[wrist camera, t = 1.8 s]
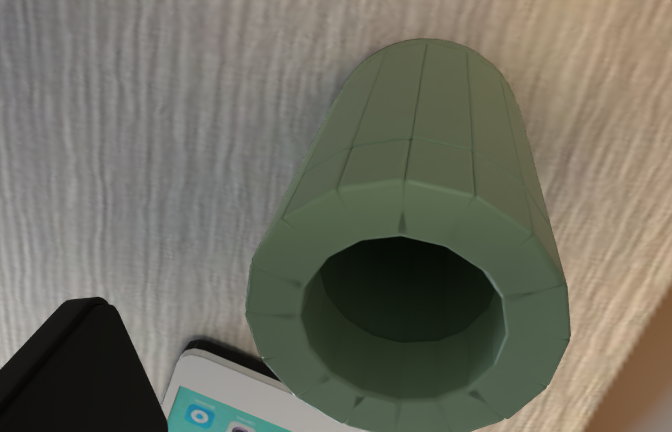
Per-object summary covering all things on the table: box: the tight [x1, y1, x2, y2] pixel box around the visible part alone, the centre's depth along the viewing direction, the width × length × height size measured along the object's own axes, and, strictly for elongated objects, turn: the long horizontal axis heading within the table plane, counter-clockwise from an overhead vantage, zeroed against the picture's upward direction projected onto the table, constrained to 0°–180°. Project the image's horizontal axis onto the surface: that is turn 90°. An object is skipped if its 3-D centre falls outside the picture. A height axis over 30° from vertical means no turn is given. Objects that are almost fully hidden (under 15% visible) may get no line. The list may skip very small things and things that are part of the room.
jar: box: [245, 39, 571, 432], centre depth 13 cm, size 5×5×8 cm
